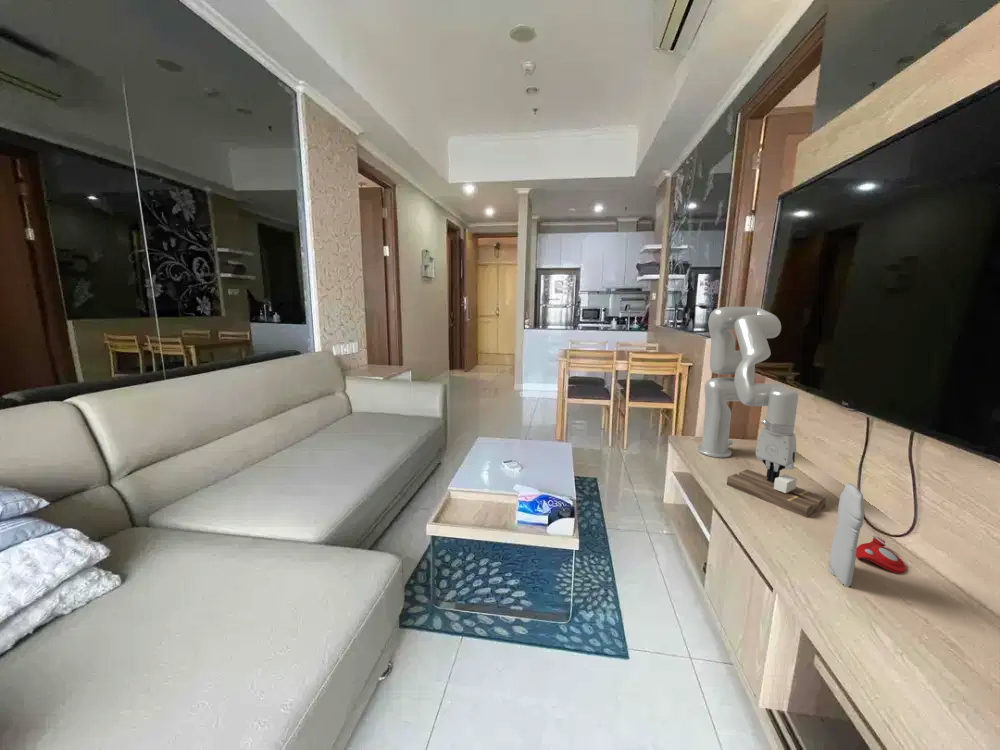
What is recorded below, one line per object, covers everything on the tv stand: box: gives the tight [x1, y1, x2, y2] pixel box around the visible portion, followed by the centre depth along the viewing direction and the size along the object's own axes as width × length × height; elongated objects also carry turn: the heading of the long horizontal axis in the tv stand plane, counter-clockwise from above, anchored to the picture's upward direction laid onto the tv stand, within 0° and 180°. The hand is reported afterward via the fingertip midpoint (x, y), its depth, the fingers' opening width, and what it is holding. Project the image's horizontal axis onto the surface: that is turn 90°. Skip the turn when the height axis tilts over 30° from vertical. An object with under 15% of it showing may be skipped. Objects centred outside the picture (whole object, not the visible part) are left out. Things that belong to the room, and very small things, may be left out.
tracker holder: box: [856, 534, 907, 574], centre depth 101 cm, size 12×4×10 cm
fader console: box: [726, 468, 827, 518], centre depth 132 cm, size 12×24×3 cm, turn 30°
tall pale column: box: [828, 482, 865, 587], centre depth 93 cm, size 11×4×22 cm, turn 157°
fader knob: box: [774, 473, 798, 493], centre depth 129 cm, size 6×4×5 cm, turn 120°
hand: (772, 480), depth 132 cm, fingers closed
